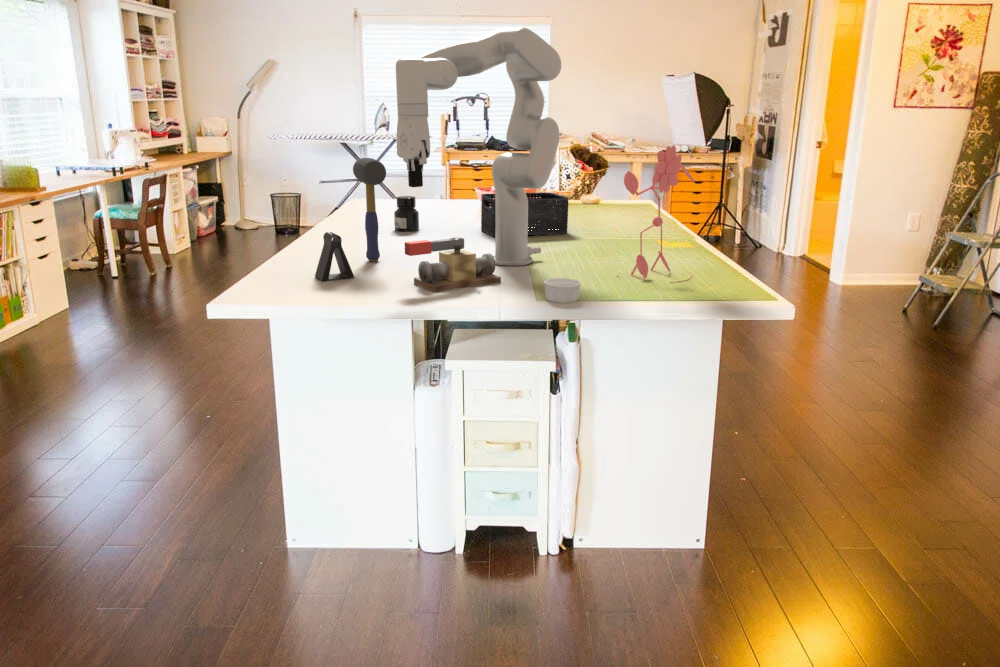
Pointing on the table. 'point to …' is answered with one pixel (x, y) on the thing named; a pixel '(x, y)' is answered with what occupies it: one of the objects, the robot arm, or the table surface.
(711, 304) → the table surface
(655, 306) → the table surface
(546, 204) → the storage bin
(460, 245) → the lever
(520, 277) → the table surface
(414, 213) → the ink bottle
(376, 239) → the rubber mallet
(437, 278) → the valve manifold
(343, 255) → the phone stand
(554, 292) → the ramekin
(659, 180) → the figurine
